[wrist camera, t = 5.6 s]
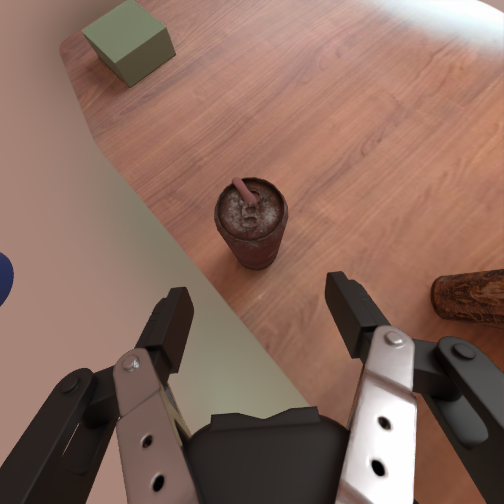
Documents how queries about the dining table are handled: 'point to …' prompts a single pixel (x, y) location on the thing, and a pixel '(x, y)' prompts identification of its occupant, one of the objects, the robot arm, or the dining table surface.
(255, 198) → the can
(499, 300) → the book
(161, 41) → the plate
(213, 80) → the dining table surface
